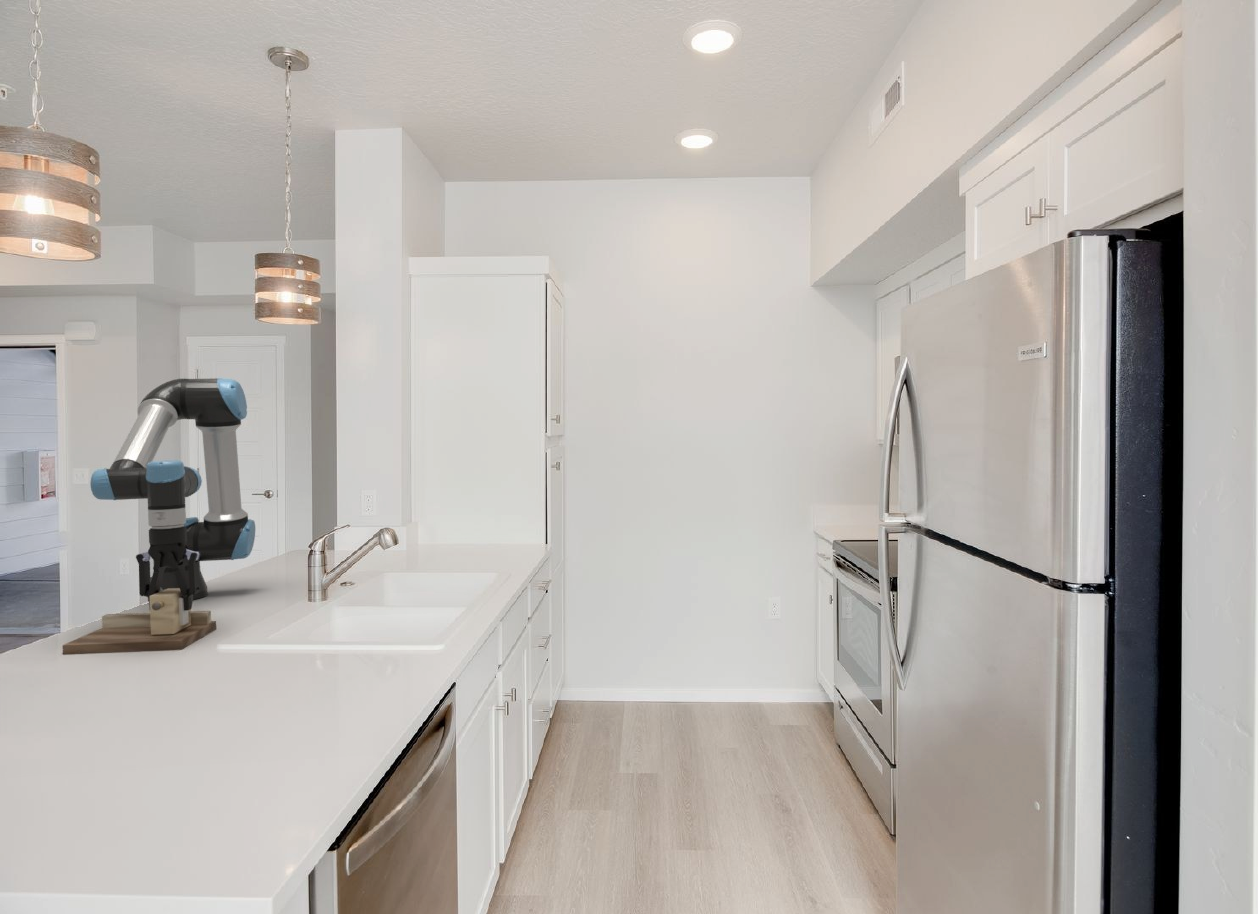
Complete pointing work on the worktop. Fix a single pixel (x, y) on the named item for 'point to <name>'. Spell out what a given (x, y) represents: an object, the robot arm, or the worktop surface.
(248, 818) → the worktop surface
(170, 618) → the marking gauge
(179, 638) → the walnut board
